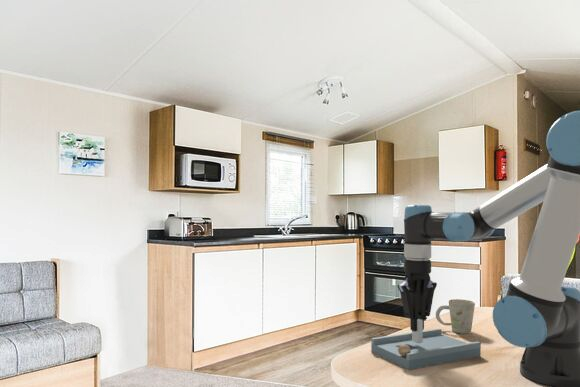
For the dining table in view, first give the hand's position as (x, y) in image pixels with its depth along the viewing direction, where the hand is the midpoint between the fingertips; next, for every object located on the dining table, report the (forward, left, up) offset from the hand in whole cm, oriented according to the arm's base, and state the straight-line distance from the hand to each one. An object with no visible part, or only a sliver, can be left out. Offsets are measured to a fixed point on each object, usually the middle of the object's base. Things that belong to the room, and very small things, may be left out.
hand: (417, 341), depth 134 cm
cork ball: (-6, +10, 0) cm, 11 cm away
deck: (-1, -2, -4) cm, 4 cm away
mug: (+14, -29, -4) cm, 33 cm away
